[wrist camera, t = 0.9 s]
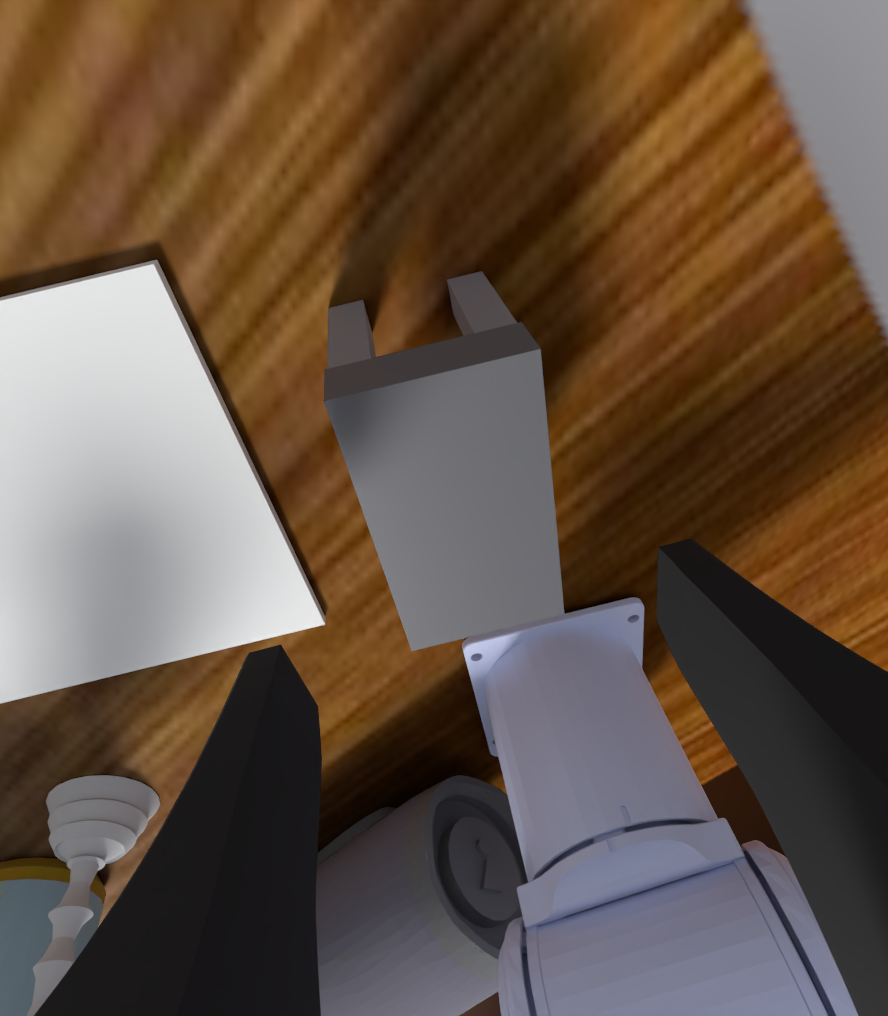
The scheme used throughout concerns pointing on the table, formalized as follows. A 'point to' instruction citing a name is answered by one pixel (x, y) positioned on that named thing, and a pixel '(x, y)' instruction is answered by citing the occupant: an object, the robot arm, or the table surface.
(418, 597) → the stool
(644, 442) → the table surface
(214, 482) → the mat
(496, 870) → the bluetooth speaker
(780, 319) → the table surface
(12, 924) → the bottle
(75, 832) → the chalice
